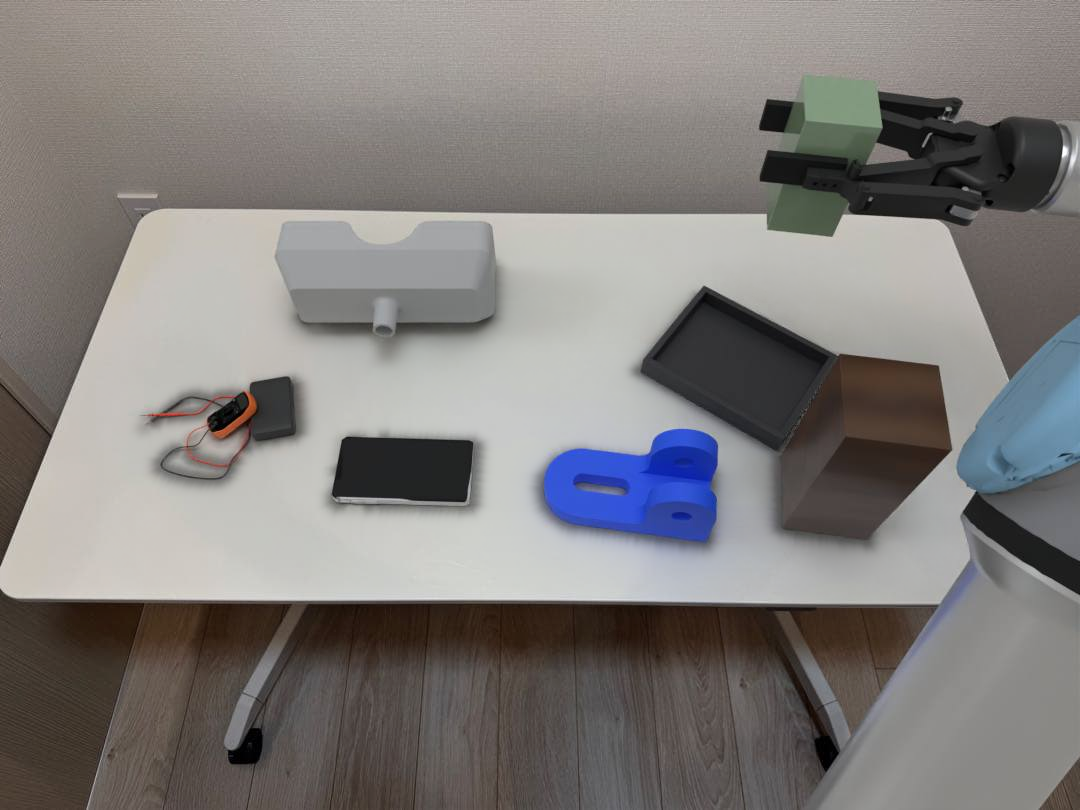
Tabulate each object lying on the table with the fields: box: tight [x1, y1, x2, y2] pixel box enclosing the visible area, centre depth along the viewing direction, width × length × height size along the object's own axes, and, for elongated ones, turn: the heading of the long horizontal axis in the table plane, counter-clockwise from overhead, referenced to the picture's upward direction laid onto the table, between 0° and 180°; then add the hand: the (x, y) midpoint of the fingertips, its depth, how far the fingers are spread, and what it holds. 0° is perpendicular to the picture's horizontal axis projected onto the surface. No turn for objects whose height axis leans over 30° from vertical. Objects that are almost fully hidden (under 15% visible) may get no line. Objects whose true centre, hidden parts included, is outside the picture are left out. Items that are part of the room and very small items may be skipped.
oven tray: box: [640, 285, 839, 451], centre depth 93 cm, size 15×19×3 cm
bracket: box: [543, 428, 719, 543], centre depth 81 cm, size 18×8×9 cm, turn 82°
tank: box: [274, 220, 497, 339], centre depth 93 cm, size 25×16×12 cm, turn 90°
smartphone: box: [331, 436, 475, 507], centre depth 86 cm, size 8×1×15 cm
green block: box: [765, 74, 883, 238], centre depth 67 cm, size 6×6×12 cm
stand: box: [780, 352, 953, 541], centre depth 77 cm, size 9×9×20 cm
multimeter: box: [139, 375, 296, 480], centre depth 87 cm, size 18×12×3 cm, turn 98°
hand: (763, 139), depth 66 cm, fingers closed on green block, 6 cm apart
